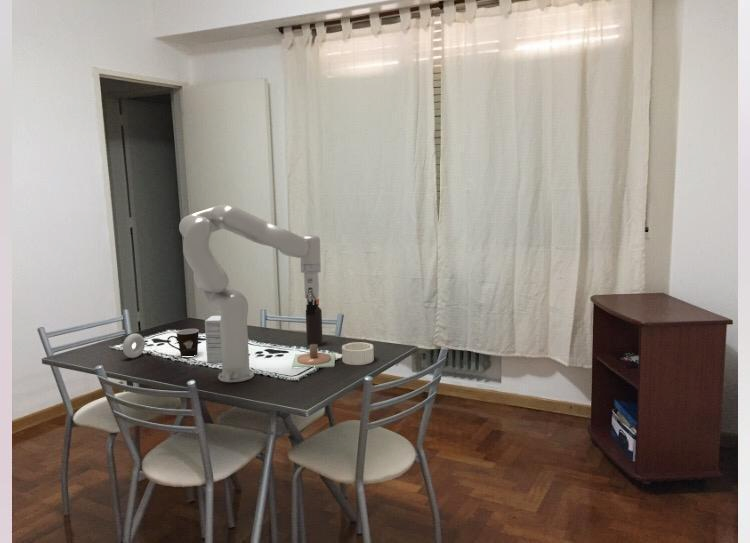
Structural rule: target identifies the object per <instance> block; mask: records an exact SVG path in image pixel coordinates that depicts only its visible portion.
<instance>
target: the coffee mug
mask: <svg viewBox="0 0 750 543" xmlns="http://www.w3.org/2000/svg"><path fill="white" fill-rule="evenodd" d="M199 333H200V331H199V329H198V328H185V329H181V330H177V331H176V335H171V336H168V338H167V339H166V342H167V344H168V345H169V346H170V347H171V348H173V349H176V350H178V351H179V353H180V357H181V356H194V355H197V356H198V352H199ZM171 338H174V339H176V342H178V343H177V344H178V347H176V346H174V345H173V344H171V343H170V342H169V340H170V339H171ZM194 357H195V356H194Z"/></svg>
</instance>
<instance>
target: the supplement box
mask: <svg viewBox="0 0 750 543" xmlns="http://www.w3.org/2000/svg"><path fill="white" fill-rule="evenodd" d="M220 319H221V315H211V316H210V317H208V318H207V319H205V320H204V332H205V347H206V362H207V363H222V356H221V340H220Z"/></svg>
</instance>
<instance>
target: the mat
mask: <svg viewBox="0 0 750 543" xmlns="http://www.w3.org/2000/svg"><path fill="white" fill-rule="evenodd" d="M303 354H304V353H297V354H295V355H294V357H293V360H292V364H291V368H292V367H311V366H312V367H313V366H315V368H335V365H336V364H335V363H336V362H335V360H336V353H335V352H325V354H328V355H330V356H331V360H330V361H329V362H326V363H323V364H317V365H305V364H301V363H298V362H297V357H298V356H300V355H303Z"/></svg>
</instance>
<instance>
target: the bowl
mask: <svg viewBox="0 0 750 543" xmlns="http://www.w3.org/2000/svg"><path fill="white" fill-rule="evenodd" d="M374 354H375V353H374V344H372V343H368V342H365V341H364V342H363V341H362V342H359V341H358V342H348V343H345V344H342V345H341V355H342V356H341V357H342V363H343V364H345V365H348V366H349V365H350V366H364V365H365V366H366V365H368V364H372V363H373V362H374V357H375V356H374Z"/></svg>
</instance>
